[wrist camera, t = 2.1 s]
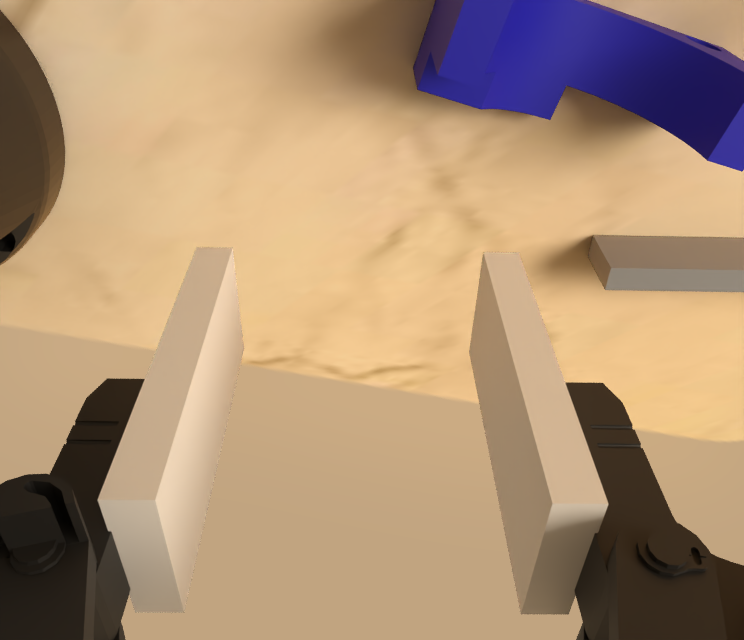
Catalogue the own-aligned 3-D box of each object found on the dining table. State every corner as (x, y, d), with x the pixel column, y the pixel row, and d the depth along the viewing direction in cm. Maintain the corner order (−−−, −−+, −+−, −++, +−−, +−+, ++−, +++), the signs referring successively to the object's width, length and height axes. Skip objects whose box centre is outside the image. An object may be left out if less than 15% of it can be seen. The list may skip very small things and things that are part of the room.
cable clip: (412, 66, 28) (422, 117, 24) (451, -49, 26) (471, -19, 21) (663, 145, 31) (718, 206, 26) (720, 46, 28) (794, 93, 23)
